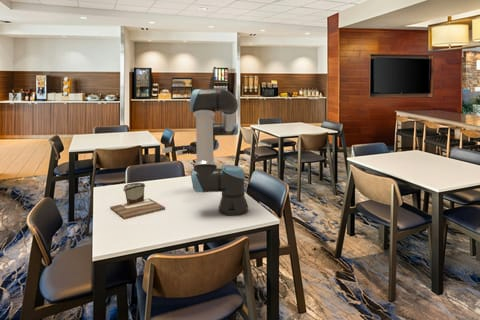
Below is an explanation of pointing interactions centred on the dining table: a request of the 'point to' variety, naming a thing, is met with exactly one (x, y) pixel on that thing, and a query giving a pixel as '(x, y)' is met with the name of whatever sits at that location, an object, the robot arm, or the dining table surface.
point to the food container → (134, 193)
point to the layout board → (137, 208)
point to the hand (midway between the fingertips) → (169, 152)
